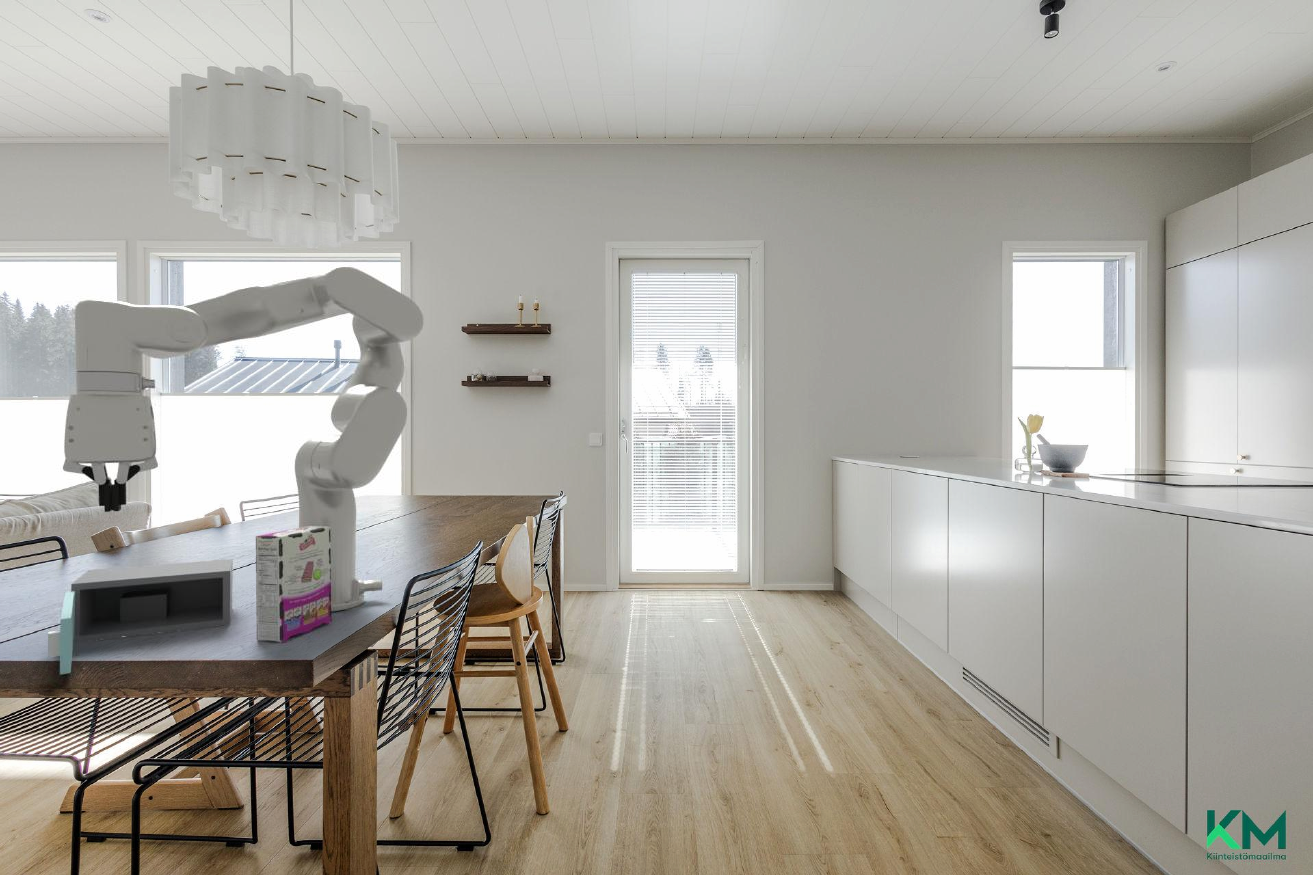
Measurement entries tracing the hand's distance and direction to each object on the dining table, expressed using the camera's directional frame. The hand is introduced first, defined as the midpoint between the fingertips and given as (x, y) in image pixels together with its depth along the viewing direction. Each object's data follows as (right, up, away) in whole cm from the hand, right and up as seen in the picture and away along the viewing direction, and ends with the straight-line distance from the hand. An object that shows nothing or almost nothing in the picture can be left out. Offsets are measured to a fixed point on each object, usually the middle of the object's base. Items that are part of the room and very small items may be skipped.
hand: (113, 510), depth 95 cm
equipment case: (-3, -20, +12) cm, 24 cm away
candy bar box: (+22, -21, +9) cm, 31 cm away
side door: (-2, -19, -6) cm, 20 cm away
